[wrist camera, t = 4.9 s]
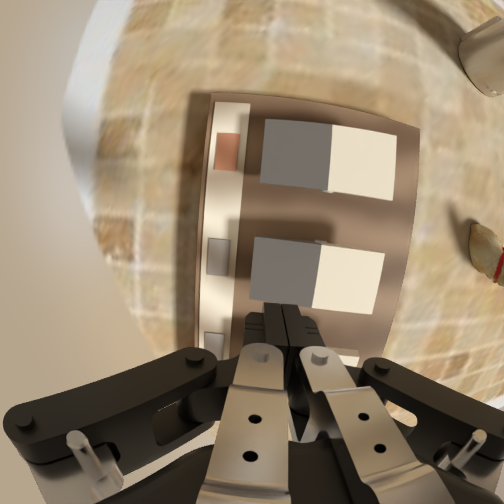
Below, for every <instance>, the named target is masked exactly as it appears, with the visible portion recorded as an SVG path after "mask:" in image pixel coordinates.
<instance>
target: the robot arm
mask: <svg viewBox="0 0 504 504" xmlns="http://www.w3.org/2000/svg"><path fill="white" fill-rule="evenodd" d="M461 41H462V42H461V43H460V45H459V48H458V53H459V57H460V60H461V63H462V65H463V68H464V70H465V71H466V73H467V75H468V76H469V78H470V79H471V81H472V82H473V83H474V85H475V86H476V87H477V88H478V89H479V90H480V91H481V92H482V93H484V94H485V95H487V96H489V97H494V96H498V95H502V94H504V19H501V18H500V17H498V16H496V17H494V18H492V19H490V20H488V21H487V22H485V23H483V24H482V25H480V26H478V27H477V28H475V29H473V30H472V31H470V32H468V33H467V34H465V35H464V36H462V37H461ZM388 400H389V401H390V402H392V403H394V404H396V405H398V406H400V407H402V408H404V409H406V410H407V411H409V412H411V413H413V414H414V415H415V416H416V417H417V425H416V426H414V427H409V426H407V425H405V424H403V423H401V422H399V421H397V420H395V419H394V418H392V417H391V416H390V414H389V413H388V411H387V409H386V408H385V405H386V403H387V401H388ZM174 402H175V403H174ZM172 403H173V404H172ZM170 404H171V405H170ZM168 405H169V406H168ZM166 406H167V407H166ZM164 407H165V408H164ZM162 408H163V409H162ZM160 409H161V410H160ZM158 410H159V411H158ZM219 420H221V421H220V425H219V428H218V432H217V436H216V440H215V444H213V445H208V446H204V447H201V448H198V449H195V450H193V451H191V452H189V453H186V454H184V455H183V456H181V457H179V458H178V459H176V460H175V461H173V462H171V463H170V464H168V465H167V466H165V467H163V468H162V469H160V470H158V471H157V472H155V473H153V474H152V475H150V476H148V477H146V478H145V479H143V480H141V481H139V482H138V483H135V484H133V485H132V486H130V487H128V488H126V489H124V490H122V491H120V490H121V488H122V486H123V482H124V479H123V476H124V475H127V474H129V473H131V472H133V471H135V470H137V469H139V468H141V467H143V466H145V465H147V464H149V463H151V462H153V461H155V460H157V459H158V458H160V457H162V456H164V455H166V454H168V453H169V452H171V451H173V450H175V449H176V448H178V447H180V446H182V445H183V444H185V443H187V442H188V441H190V440H192V439H193V438H195V437H197V436H198V435H200V434H201V433H203V432H205V431H206V430H208V429H209V428H211V427H212V426H213V425H214V423H215V421H219ZM288 423H289V428H290V432H291V437H292V441H289V440H288ZM3 427H4V431H5V433H6V434H7V436H8V437H9V439H10V440H11V442H12V443H13V444H14V446H15V447H16V448H17V450H18V452H19V454H20V456H21V457H22V458H23V459H24V461H25V462H26V463H27V464H28V465H29V467H30V470H31V472H32V474H33V477H34V479H35V481H36V483H37V485H38V487H39V490H40V492H41V494H42V495H43V498H44V499H45V501H46V503H47V504H504V503H503V501H502V500H501V498H499V496H497V495H496V494H495V493H494V492H495V490H496V487H497V484H498V480H499V477H500V474H501V470H502V466H503V463H504V412H503V411H501V410H499V409H496V408H494V407H491V406H489V405H487V404H484V403H482V402H480V401H477V400H475V399H473V398H470V397H468V396H466V395H464V394H461V393H459V392H457V391H455V390H452V389H450V388H448V387H446V386H443V385H441V384H439V383H437V382H435V381H433V380H430V379H428V378H426V377H424V376H422V375H420V374H418V373H415V372H413V371H411V370H409V369H407V368H405V367H403V366H401V365H399V364H397V363H395V362H392V361H390V360H388V359H385V358H380V357H372V358H368V359H366V360H365V361H364V363H363V365H362V368H359V367H353V366H348V365H344V364H343V362H342V361H341V359H340V357H339V356H338V354H337V353H336V352H334V351H333V350H331V349H328V348H326V346H325V344H324V342H323V339H322V337H321V334H320V332H319V330H318V327H317V325H316V322H315V321H314V320H313V319H311V318H310V317H309V316H301V313H300V310H299V307H298V305H295V304H282V303H281V305H280V303H269V302H263V307H262V313H260V312H250V313H249V314H248V315H246V316H245V324H244V334H243V344H242V349H241V351H240V354H239V355H238V356H236V357H234V358H231V359H226V360H217V357H216V356H215V355H214V354H213V353H212V352H210V351H209V350H206V349H203V348H197V347H189V348H184V349H181V350H178V351H176V352H173V353H171V354H168V355H166V356H163V357H161V358H158V359H156V360H153V361H151V362H148V363H145V364H143V365H140V366H137V367H135V368H132V369H129V370H127V371H124V372H121V373H118V374H116V375H113V376H110V377H107V378H104V379H101V380H99V381H96V382H92V383H90V384H86V385H83V386H80V387H77V388H74V389H71V390H68V391H64V392H61V393H58V394H54V395H51V396H48V397H44V398H40V399H37V400H33V401H30V402H26V403H22V404H19V405H16V406H14V407H12V408H11V409H9V410H8V412H7V413H6V414H5V416H4V419H3ZM119 491H120V492H119Z"/></svg>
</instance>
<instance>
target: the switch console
mask: <svg viewBox="0 0 504 504" xmlns="http://www.w3.org/2000/svg"><path fill="white" fill-rule="evenodd" d="M266 119H276V120H291V121H303V122H314V123H323V124H331V125H338V126H345V127H352V128H358V129H364V130H370V131H375V132H380V133H385V134H390V135H395V136H397V143H396V166H395V180H394V191H393V201H388V200H382V199H376V198H371V197H364V196H358V195H352V194H345V193H338V192H333V193H327V192H320V190H315V189H307V188H299V187H290V186H280V185H270V184H261V183H260V174H261V163H262V152H263V141H264V131H265V120H266ZM419 147H420V129H419V128H416V127H413V126H410V125H407V124H404V123H401V122H398V121H394V120H391V119H387V118H384V117H380V116H377V115H373V114H369V113H365V112H361V111H357V110H353V109H348V108H344V107H339V106H334V105H329V104H324V103H318V102H312V101H306V100H299V99H292V98H284V97H276V96H266V95H255V94H240V93H215V92H211V99H210V106H209V114H208V122H207V131H206V139H205V149H204V158H203V169H202V180H201V192H200V205H199V219H198V236H197V256H196V282H195V347H197V348H203V349H206V350H209V351H210V352H212V353H213V354H214V355H215V356H216V357H217V360H226V359H231V358H234V357H236V356H238V355H239V354H240V351H241V349H242V344H243V334H244V324H245V316H246V315H248V314H249V313H250V312H260V313H262V307H263V302H265V301H258V300H252V299H249V292H250V282H251V271H252V261H253V250H254V239H255V236H256V235H257V234H258V235H266V236H275V237H283V238H291V239H299V240H307V241H315V240H323V241H327V243H330V244H337V245H345V246H352V247H359V248H367V249H374V250H381V251H382V252H384V253H385V256H384V261H383V267H382V272H381V277H380V281H379V286H378V291H377V295H376V299H375V303H374V308H373V312H372V314H362V313H352V312H343V311H334V310H325V309H317V308H309V307H301V306H298V307H299V310H300V313H301V316H309V317H310V318H311V319H313V320H314V321H315V322H316V325H317V327H318V330H319V332H320V334H321V337H322V339H323V342H324V344H325V346H326V347H333V348H342V349H352V350H358V352H359V357H360V358H359V361H358V364H357V367H359V368H362V365H363V363H364V361H365V360H366V359H368V358H372V357H380V358H381V356H382V353H383V350H384V347H385V344H386V341H387V338H388V335H389V332H390V328H391V325H392V322H393V318H394V315H395V311H396V307H397V303H398V300H399V296H400V292H401V287H402V283H403V279H404V274H405V269H406V264H407V259H408V254H409V248H410V243H411V236H412V230H413V223H414V215H415V207H416V197H417V186H418V172H419ZM269 303H272V302H269ZM280 305H281V304H280Z"/></svg>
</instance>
